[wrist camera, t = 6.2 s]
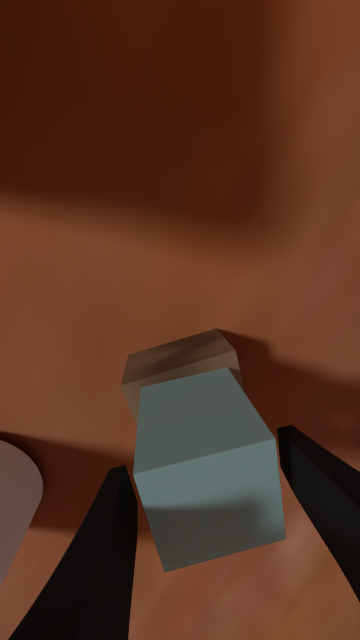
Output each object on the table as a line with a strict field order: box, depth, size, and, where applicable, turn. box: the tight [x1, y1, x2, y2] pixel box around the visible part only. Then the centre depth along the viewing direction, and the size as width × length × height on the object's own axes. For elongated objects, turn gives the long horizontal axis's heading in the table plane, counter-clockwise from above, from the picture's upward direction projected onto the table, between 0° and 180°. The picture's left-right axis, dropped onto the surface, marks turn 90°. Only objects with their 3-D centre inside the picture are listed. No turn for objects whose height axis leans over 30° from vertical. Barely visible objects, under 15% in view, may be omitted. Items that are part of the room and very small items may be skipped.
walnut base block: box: [121, 328, 246, 426], centre depth 15 cm, size 6×6×4 cm
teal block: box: [133, 367, 286, 572], centre depth 10 cm, size 4×4×5 cm
